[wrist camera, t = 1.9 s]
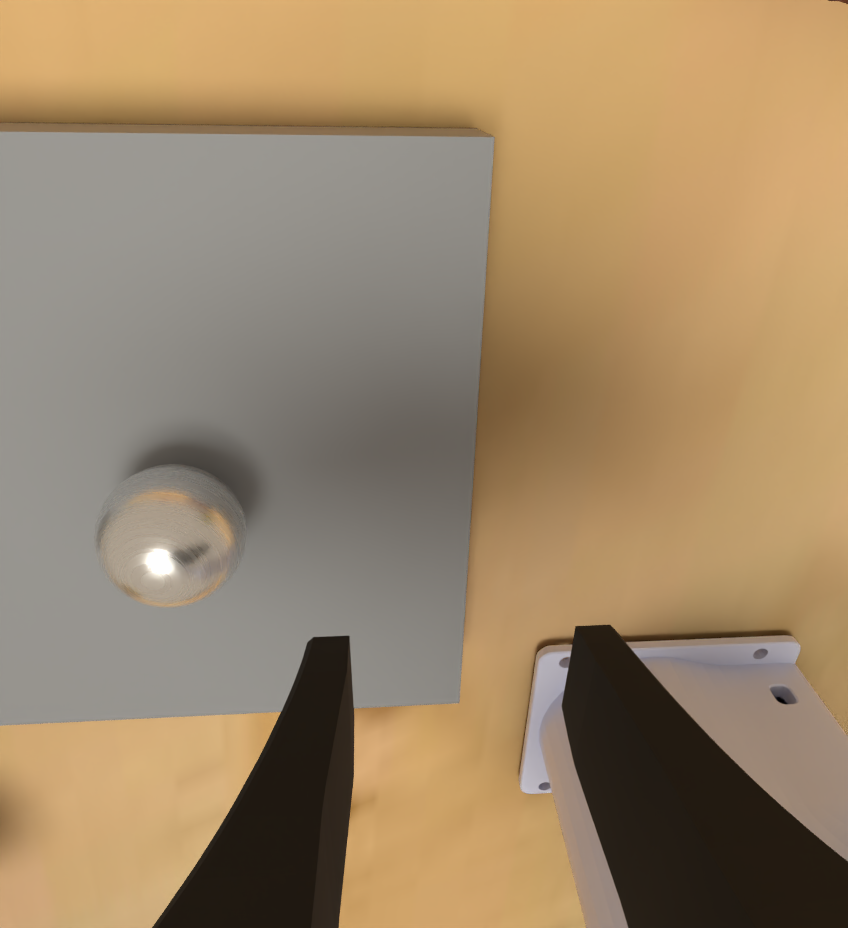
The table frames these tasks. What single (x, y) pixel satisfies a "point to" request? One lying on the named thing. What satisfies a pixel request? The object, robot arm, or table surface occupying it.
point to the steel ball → (170, 536)
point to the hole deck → (239, 404)
